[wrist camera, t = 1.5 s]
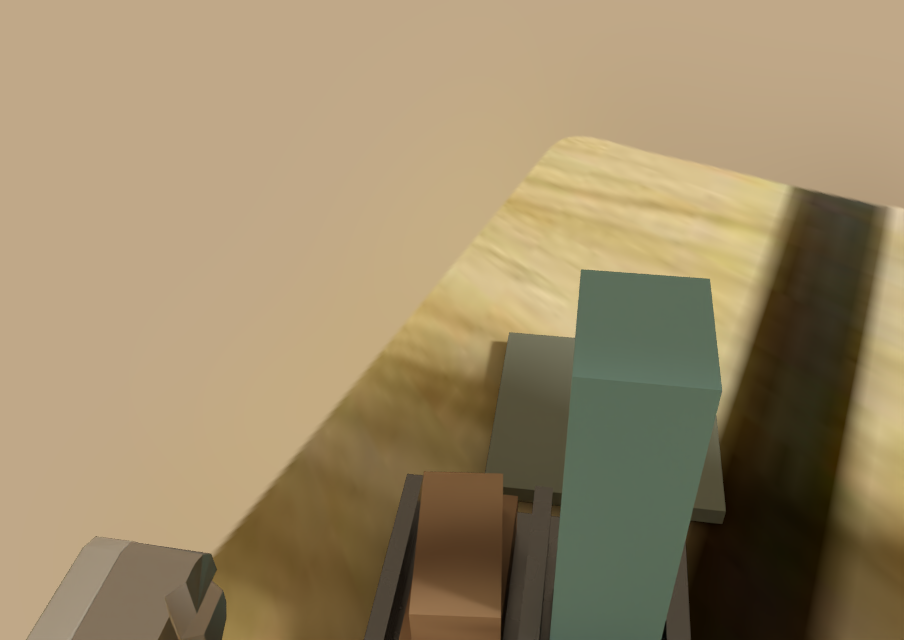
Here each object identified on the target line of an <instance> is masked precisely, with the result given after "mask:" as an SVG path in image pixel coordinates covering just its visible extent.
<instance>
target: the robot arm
mask: <svg viewBox="0 0 904 640" xmlns="http://www.w3.org/2000/svg"><path fill="white" fill-rule="evenodd" d="M216 570H217V569H216V566H215V563H214V560H213V558H212V555H211V554H209V553H203V552H196V551H189V550H182V549H176V548H169V547H162V546H155V545H149V544H142V543H137V542H134V541H126V540H119V539H112V538H104V537H97V536H96V537H95V538H93V539H92V540H91V541H90V542H89V543H88V544H87V545H86V546H84V547H83V549H82V550H81V552H80V553H79V555H78V557H77V558H76V560H75V561H74V563H73V565H72V566H71V568H70V569H69V571H68V573H67V574H66V576H65V577H64V579H63V581H62V582H61V584H60V586H59V587H58V589H57V590H56V592H55V594H54V595H53V597H52V599H51V600H50V602H49V603H48V605H47V607H46V608H45V610H44V612H43V613H42V615H41V616H40V618H39V620H38V621H37V623H36V624H35V626H34V628H33V629H32V631H31V632H30V634H29V636H28V638H27V639H26V640H222V636H223V631H224V626H225V621H226V599H225V596H224V592H223V590H222V589H221V588H220V587H219V586H218V585H216V584H215V583H214V582H213V581H212V579H213V577H214V574H215V572H216Z"/></svg>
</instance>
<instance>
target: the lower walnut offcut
mask: <svg viewBox="0 0 904 640" xmlns="http://www.w3.org/2000/svg"><path fill="white" fill-rule="evenodd" d="M517 510H518V496H512V495H503V513H502V577H501V640H503V634H504V626H505V618H506V610H507V602H508V595H509V587H510V579H511V571H512V563H513V555H514V547H515V540H516V532H517ZM411 589H412V584H411V588H410V592H409V597H408V601H407V606H406V610H405V614H404V619H403V623H402V628H401V632H400V636H399V640H412V639H411V630H410V621H409V607H410V598H411Z"/></svg>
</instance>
